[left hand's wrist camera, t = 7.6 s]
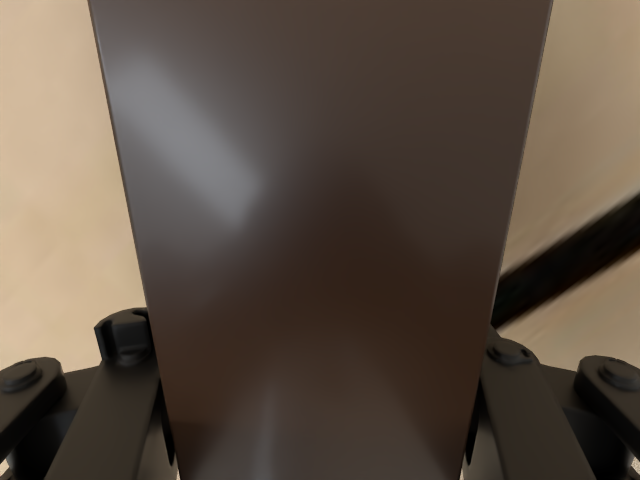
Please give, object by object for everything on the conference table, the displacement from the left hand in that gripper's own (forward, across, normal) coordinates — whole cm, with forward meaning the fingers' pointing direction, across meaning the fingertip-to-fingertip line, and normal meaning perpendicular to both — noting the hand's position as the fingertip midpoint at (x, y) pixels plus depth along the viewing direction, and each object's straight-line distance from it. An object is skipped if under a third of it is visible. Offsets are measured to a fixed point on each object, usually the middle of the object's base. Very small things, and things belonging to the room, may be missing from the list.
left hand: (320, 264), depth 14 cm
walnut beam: (0, 0, -10) cm, 10 cm away
